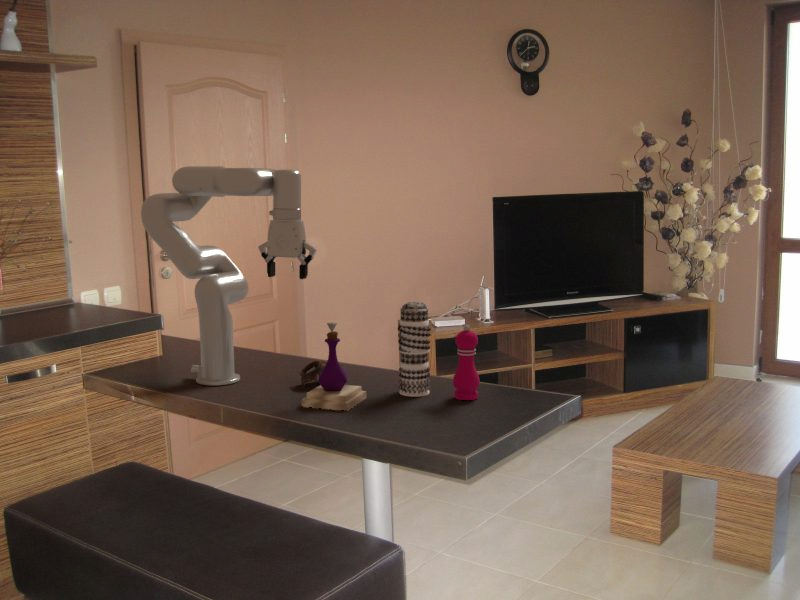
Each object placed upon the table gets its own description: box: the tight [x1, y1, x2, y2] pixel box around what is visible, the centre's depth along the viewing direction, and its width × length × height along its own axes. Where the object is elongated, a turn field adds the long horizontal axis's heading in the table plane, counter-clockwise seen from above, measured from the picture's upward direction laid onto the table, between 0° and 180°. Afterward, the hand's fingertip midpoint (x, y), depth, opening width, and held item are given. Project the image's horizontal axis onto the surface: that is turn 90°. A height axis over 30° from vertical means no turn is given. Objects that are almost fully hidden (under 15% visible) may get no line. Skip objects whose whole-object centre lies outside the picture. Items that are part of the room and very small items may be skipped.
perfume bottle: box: [317, 322, 348, 391], centre depth 204 cm, size 8×8×18 cm
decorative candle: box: [397, 301, 432, 398], centre depth 213 cm, size 9×9×25 cm
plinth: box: [301, 384, 367, 412], centre depth 205 cm, size 13×13×4 cm
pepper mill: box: [452, 324, 481, 402], centre depth 208 cm, size 7×7×20 cm
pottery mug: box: [299, 359, 327, 386], centre depth 225 cm, size 12×10×8 cm
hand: (287, 277), depth 215 cm, fingers open, 9 cm apart
